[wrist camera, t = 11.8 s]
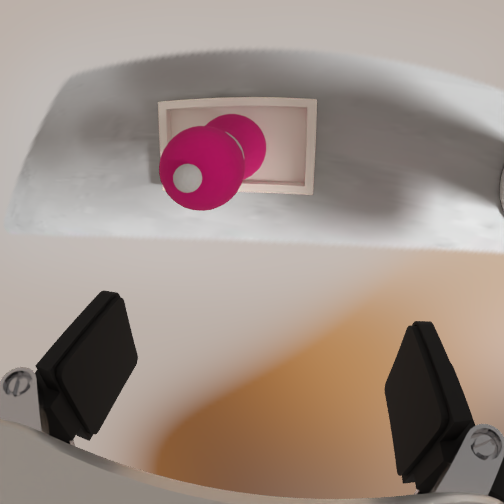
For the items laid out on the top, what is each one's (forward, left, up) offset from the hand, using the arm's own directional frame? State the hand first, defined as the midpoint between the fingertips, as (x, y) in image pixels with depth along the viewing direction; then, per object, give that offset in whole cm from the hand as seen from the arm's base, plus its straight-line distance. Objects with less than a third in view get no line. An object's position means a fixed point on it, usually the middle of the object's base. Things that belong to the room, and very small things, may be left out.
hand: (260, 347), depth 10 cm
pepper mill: (+3, -5, -30) cm, 31 cm away
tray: (+3, -5, -31) cm, 32 cm away
